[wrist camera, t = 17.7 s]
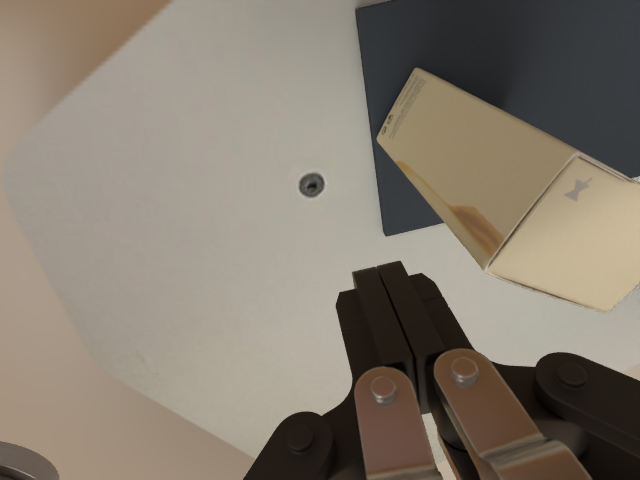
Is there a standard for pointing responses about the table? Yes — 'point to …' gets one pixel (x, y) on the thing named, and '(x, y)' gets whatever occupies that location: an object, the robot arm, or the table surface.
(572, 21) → the mat
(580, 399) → the robot arm
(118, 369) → the table surface
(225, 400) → the table surface
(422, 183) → the cosmetic box
